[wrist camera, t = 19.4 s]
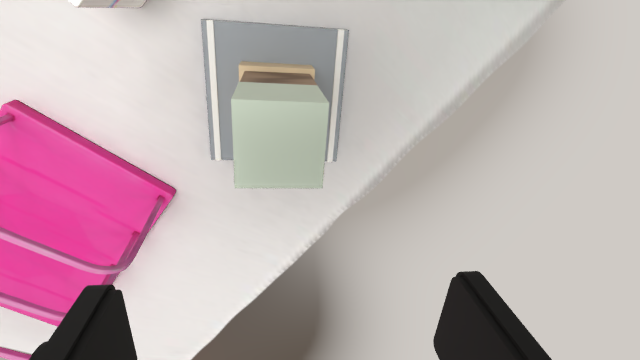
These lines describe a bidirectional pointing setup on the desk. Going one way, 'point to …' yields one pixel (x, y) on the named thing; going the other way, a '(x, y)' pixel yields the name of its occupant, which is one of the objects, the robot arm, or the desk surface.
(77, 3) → the ink cartridge box
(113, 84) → the desk surface
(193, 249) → the desk surface
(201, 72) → the desk surface
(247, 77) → the walnut cube
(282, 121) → the sage cube
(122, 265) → the file sorter
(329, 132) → the board
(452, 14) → the desk surface
